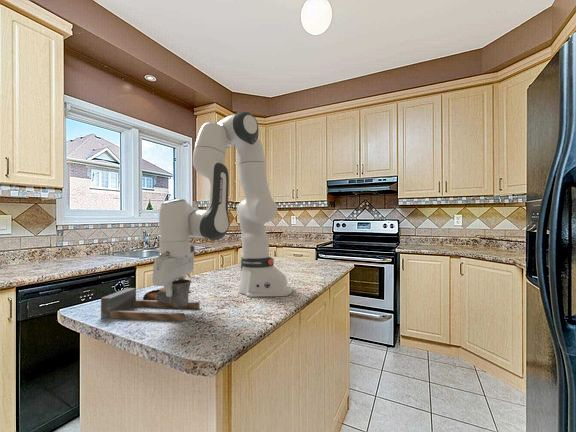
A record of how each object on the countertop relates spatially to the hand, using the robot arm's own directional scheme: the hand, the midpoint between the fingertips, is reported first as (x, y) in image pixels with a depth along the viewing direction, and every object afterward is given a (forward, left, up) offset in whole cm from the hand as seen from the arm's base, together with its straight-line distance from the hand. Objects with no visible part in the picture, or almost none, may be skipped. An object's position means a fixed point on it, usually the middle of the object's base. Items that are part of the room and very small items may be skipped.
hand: (175, 293), depth 92 cm
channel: (+8, 0, -7) cm, 10 cm away
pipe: (+1, 0, -4) cm, 4 cm away
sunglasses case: (+12, -17, -7) cm, 22 cm away
